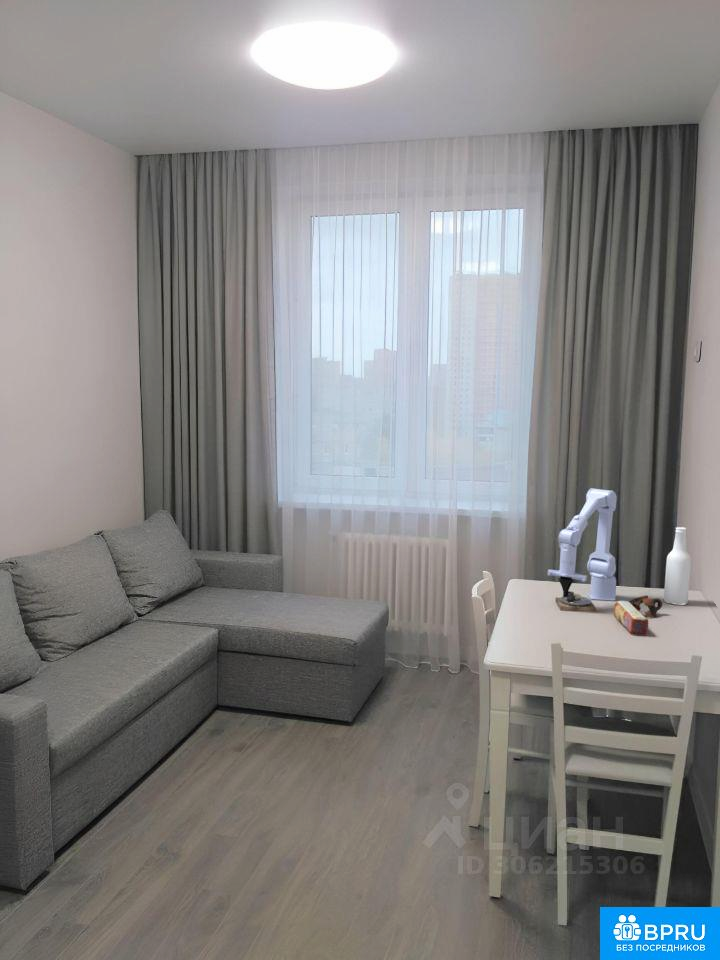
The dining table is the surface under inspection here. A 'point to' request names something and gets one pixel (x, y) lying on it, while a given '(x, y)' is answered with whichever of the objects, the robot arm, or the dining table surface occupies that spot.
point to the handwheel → (575, 599)
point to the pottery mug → (649, 603)
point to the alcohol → (677, 570)
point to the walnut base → (575, 607)
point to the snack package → (631, 618)
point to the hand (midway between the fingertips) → (565, 596)
